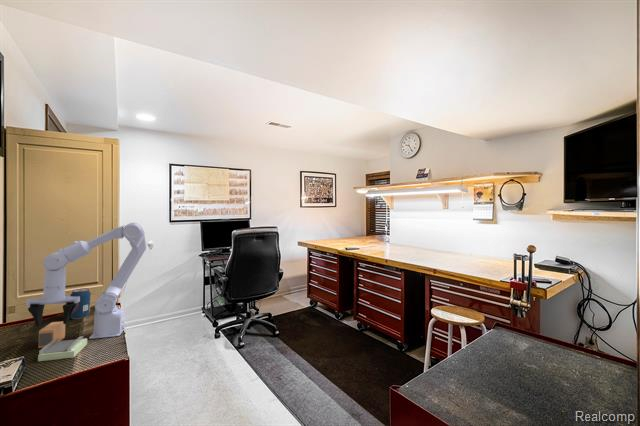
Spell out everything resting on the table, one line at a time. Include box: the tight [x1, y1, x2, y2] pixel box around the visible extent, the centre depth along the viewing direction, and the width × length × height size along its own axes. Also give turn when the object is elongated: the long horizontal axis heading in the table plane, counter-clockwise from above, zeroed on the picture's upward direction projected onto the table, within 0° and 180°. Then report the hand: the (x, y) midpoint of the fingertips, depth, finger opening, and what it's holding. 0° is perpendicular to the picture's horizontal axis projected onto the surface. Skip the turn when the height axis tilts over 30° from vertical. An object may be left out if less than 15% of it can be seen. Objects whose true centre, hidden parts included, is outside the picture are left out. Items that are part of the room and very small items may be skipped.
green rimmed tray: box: [37, 335, 88, 362], centre depth 94 cm, size 9×10×3 cm
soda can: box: [70, 287, 92, 320], centre depth 125 cm, size 7×7×12 cm
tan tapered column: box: [37, 321, 66, 349], centre depth 100 cm, size 4×9×6 cm, turn 20°
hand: (52, 324), depth 101 cm, fingers open, 7 cm apart
